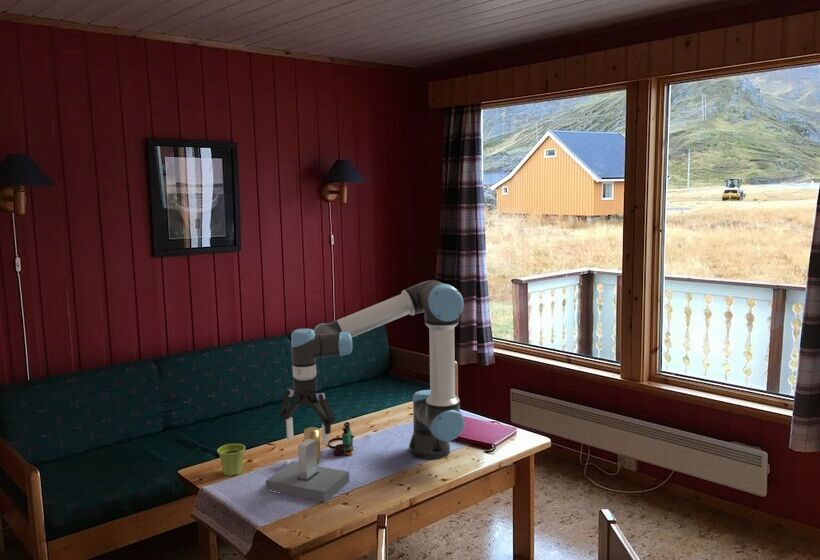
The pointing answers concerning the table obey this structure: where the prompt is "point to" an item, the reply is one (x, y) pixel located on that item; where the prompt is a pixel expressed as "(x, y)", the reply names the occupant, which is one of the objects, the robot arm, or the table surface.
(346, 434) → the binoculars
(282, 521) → the table surface
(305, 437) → the brass peg
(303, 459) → the aluminium bar
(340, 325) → the robot arm
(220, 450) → the plant pot
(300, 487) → the slot plate
